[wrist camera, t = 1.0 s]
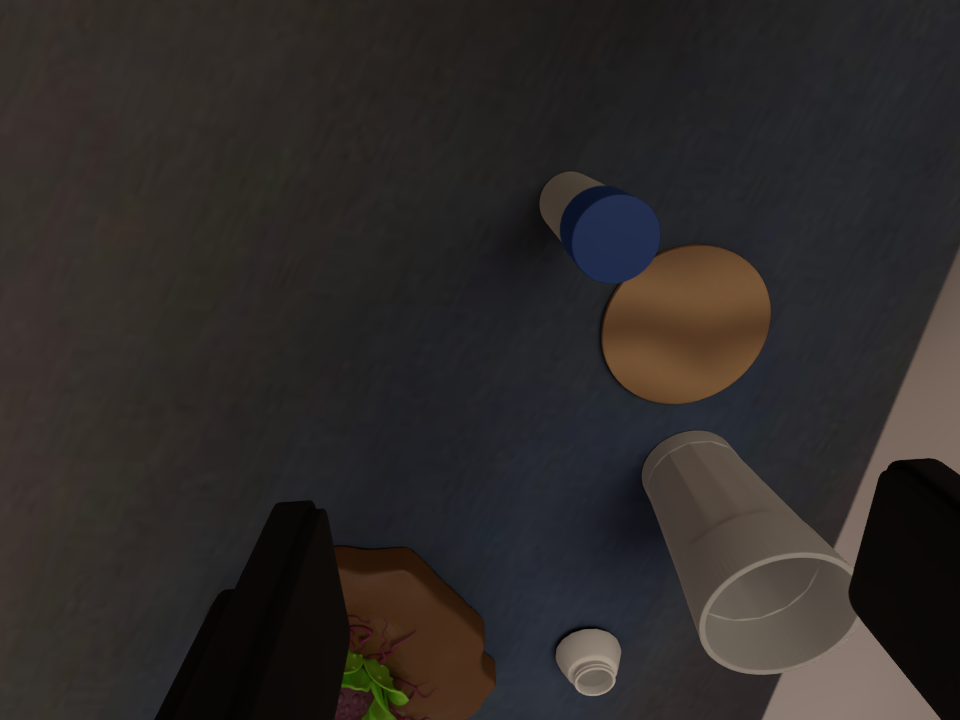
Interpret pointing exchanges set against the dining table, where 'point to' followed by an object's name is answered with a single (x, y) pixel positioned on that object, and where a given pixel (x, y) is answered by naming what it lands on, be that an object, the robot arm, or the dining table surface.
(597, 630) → the white jar
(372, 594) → the plant
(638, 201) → the marker
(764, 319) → the coaster
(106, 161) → the dining table surface
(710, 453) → the cup
